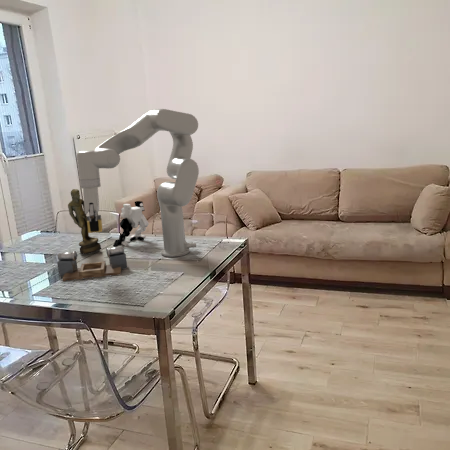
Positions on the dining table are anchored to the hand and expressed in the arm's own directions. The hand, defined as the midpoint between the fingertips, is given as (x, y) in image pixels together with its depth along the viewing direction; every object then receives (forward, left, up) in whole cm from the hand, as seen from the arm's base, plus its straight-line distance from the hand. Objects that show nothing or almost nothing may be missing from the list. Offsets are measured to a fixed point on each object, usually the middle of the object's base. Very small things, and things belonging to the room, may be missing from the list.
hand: (95, 229), depth 184 cm
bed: (+3, -1, -18) cm, 18 cm away
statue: (+7, -31, -18) cm, 37 cm away
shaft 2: (-6, -3, -18) cm, 19 cm away
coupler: (0, 0, -1) cm, 1 cm away
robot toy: (-12, -41, -18) cm, 46 cm away
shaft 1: (+13, -3, -18) cm, 22 cm away
